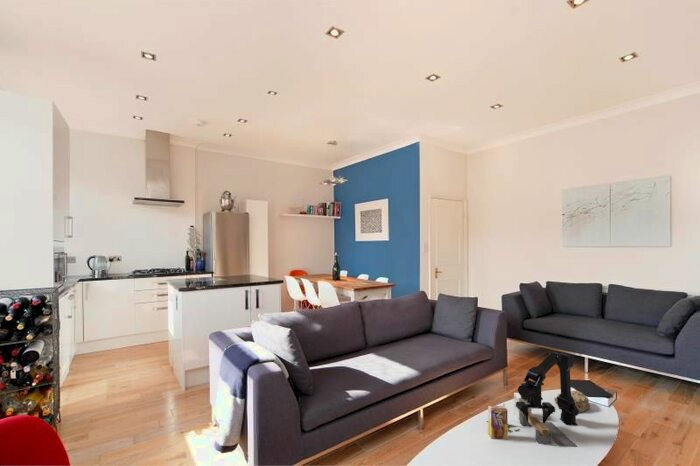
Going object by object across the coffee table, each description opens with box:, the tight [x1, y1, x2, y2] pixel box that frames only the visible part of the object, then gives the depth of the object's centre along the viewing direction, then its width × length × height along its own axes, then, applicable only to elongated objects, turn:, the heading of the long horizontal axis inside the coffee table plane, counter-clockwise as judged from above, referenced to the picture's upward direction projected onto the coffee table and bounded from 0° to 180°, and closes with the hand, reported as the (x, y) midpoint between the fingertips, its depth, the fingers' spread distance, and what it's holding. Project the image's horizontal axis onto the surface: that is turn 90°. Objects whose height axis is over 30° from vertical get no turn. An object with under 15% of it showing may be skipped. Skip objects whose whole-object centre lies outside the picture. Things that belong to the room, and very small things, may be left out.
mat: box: [541, 421, 578, 448], centre depth 178 cm, size 9×22×1 cm, turn 179°
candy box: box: [487, 405, 509, 440], centre depth 174 cm, size 9×4×15 cm, turn 89°
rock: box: [553, 390, 591, 413], centre depth 208 cm, size 21×14×10 cm
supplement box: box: [513, 392, 533, 420], centre depth 195 cm, size 7×7×13 cm
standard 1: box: [519, 414, 534, 428], centre depth 186 cm, size 7×3×6 cm, turn 89°
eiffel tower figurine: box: [485, 403, 521, 434], centre depth 185 cm, size 15×10×13 cm
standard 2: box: [535, 430, 553, 445], centre depth 170 cm, size 7×3×6 cm, turn 89°
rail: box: [522, 410, 549, 437], centre depth 178 cm, size 4×20×4 cm, turn 0°
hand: (535, 422), depth 178 cm, fingers open, 9 cm apart
